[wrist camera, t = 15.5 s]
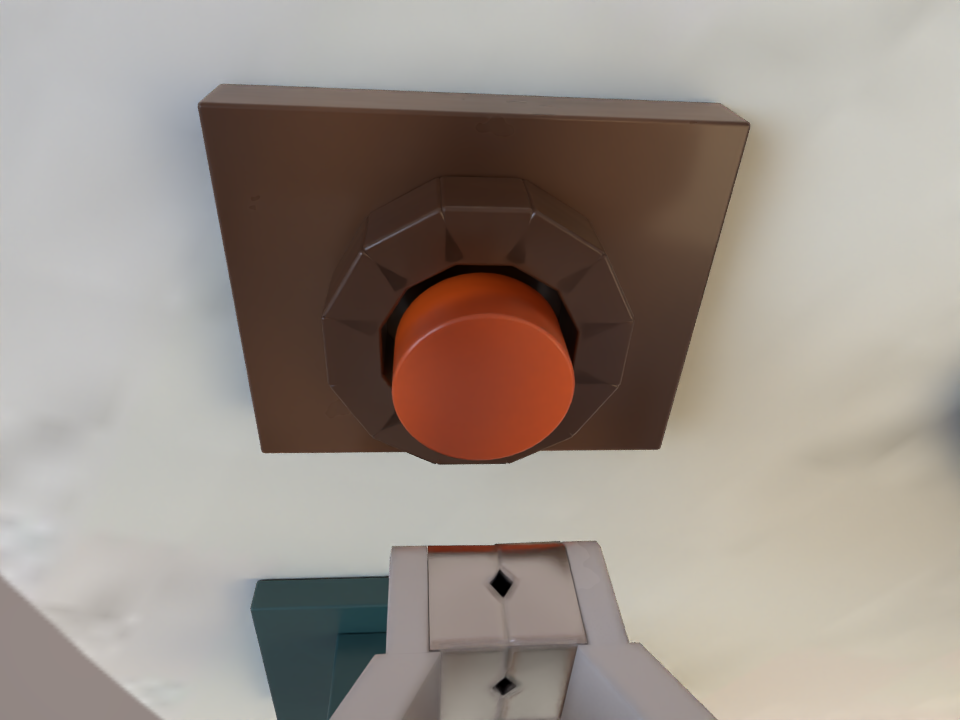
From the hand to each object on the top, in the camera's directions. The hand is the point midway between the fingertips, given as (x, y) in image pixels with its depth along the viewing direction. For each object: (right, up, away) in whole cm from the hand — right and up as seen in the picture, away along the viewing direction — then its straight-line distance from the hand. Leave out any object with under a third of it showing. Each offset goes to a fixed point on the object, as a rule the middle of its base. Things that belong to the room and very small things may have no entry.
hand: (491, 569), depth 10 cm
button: (0, +3, +5) cm, 6 cm away
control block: (0, +5, +7) cm, 9 cm away
